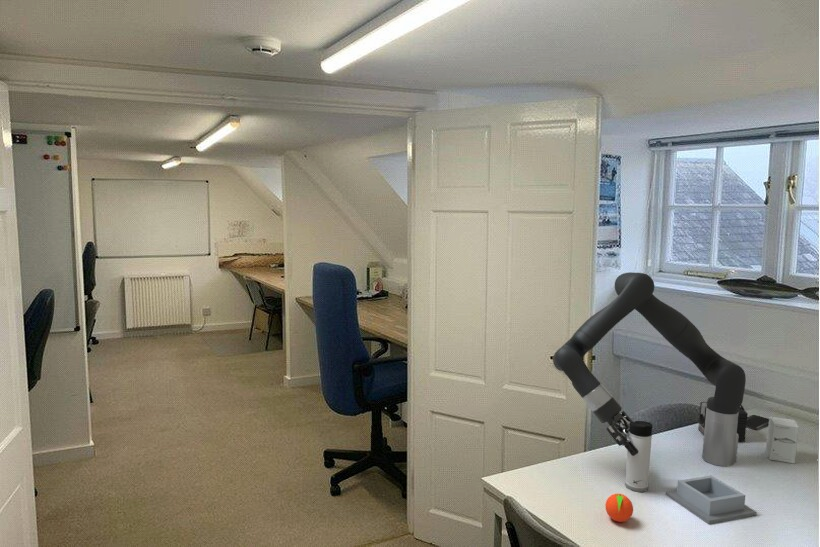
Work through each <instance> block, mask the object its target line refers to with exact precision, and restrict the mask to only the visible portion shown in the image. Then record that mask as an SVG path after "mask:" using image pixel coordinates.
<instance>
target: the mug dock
mask: <svg viewBox="0 0 820 547" xmlns="http://www.w3.org/2000/svg"><path fill="white" fill-rule="evenodd" d="M676 484H677V485H676V489H673V490H666V491H665V493H664V495H665V496H666V497H668V498H669V499H671V500H672V501H673V502H676V503H677V504H678V505H680V506H681V507H682V508H684V509H686V510H687V511H688V512H690V513H692V514H693V515H694V516H696V517H697V518H699V519H700V520H702V521H703V522H705V523H706V524H707V525H712V524H717V523H722V522H728V521H734V520H739V519H743V518H749V517H754V516H757V510H754V509H752V508H751V507H749V506H747V505H746V504H745V502H746V494H744V493H742V492H741V491H739V490H737V489H735V488H734V487H732V486H730V485H728V484H727V483H725V482H723V481H722V480H719V479H718V478H717V477H715V476H713V475H712V474H711V475H705V476H700V477H691V478H687V479H679V480H677V483H676Z"/></svg>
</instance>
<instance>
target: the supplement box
mask: <svg viewBox="0 0 820 547" xmlns="http://www.w3.org/2000/svg"><path fill="white" fill-rule="evenodd" d="M768 419H769V425H768V426H767V434H766V436H767V437H766V445H765V452H766V456H767V458H768V459H769V460H770V461H776V462H782V463H783V462H785V463H789V464H795V463H796V458H797V457H796V455H797V448H798V446H797V445H798V438H799V432H800V426H799V425H798V424H797V422H796V420H795V419H789V418H784V417H782V418H781V417H777V416H769V418H768Z"/></svg>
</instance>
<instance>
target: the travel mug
mask: <svg viewBox="0 0 820 547" xmlns="http://www.w3.org/2000/svg"><path fill="white" fill-rule="evenodd" d="M652 432H653V423H652V422H649V421H644V420H643V421H642V420H636V421H633V422H630V425H629V434H628V435H627V436H628V438H629V440H630V441H631V442H632V444H633V445H634V446H635V447H636V448H637V450H638V451H639V452H638V454H636V455H634V456H632V455H631V454H630V453H629V451H628V450H627V449H626V450H627V452H626V468H625V481H624V486H625V487H626V488H627V489H628V490H630V491H632V490H633V492H636V491H637V493H638V492H639V493H641V492H642V493H643V492H646V491H647V490H648V488H649V474H650V464H651V453H652V452H651V451H652V450H651V449H652V439H653V437H652V436H653V433H652Z"/></svg>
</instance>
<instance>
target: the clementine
mask: <svg viewBox="0 0 820 547" xmlns="http://www.w3.org/2000/svg"><path fill="white" fill-rule="evenodd" d="M605 511H606V512H605V513H607V515H608V516H609V518H610V519H612V520H613V521H614V522H619V523H623V522H624V523H625V522H627V521H628V520H630V519H631V517H632V516H633V514H634V505H633V503H632V501H631V499H630V498H629V497H627V496H626V495H625V494H622V493H613V494H611V495H610V496H609V497H608V498H607V499H606V501H605Z"/></svg>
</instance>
